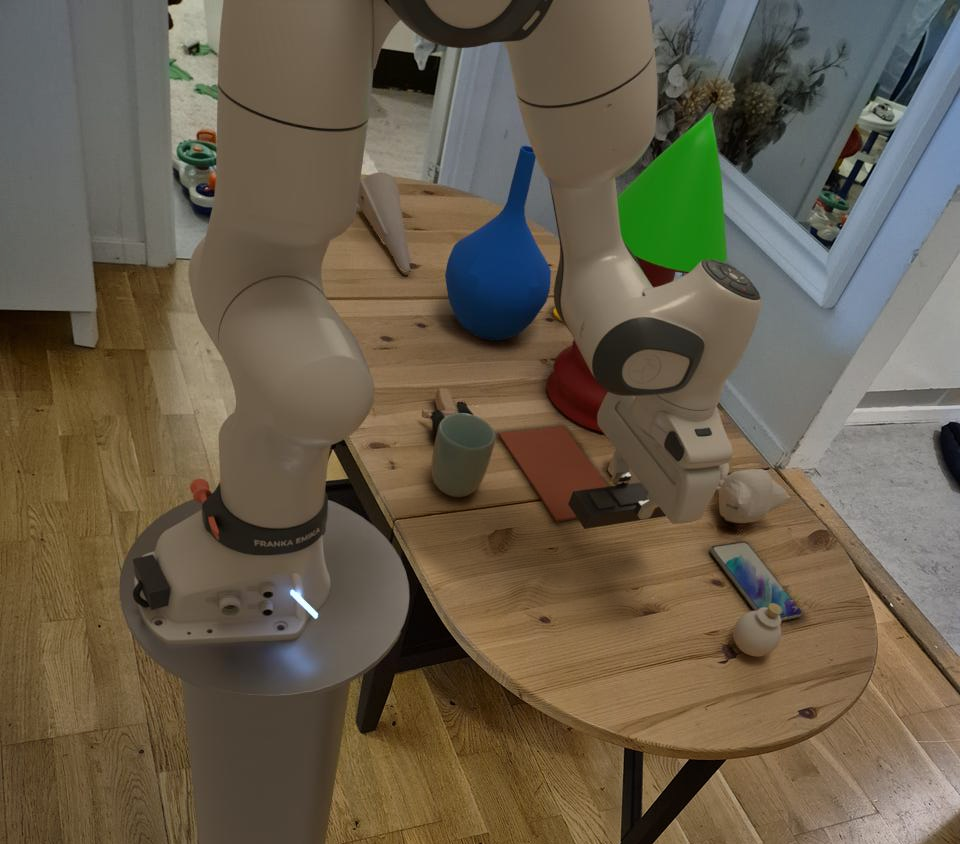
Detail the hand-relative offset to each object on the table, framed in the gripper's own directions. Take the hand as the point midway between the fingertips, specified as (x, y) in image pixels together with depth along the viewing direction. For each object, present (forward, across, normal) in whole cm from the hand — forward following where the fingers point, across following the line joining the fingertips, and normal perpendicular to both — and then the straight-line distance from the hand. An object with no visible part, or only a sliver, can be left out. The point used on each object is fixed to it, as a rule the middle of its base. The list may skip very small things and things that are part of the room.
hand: (629, 499), depth 105 cm
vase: (+13, -60, +10) cm, 62 cm away
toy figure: (+13, -32, -10) cm, 36 cm away
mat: (+13, -20, +4) cm, 24 cm away
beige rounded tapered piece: (+13, -8, +28) cm, 33 cm away
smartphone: (+13, +8, +23) cm, 27 cm away
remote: (+2, 0, 0) cm, 2 cm away
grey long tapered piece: (+13, -90, +3) cm, 91 cm away
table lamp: (+13, -36, +21) cm, 44 cm away
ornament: (+13, +18, +15) cm, 27 cm away
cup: (+13, -20, -14) cm, 28 cm away
